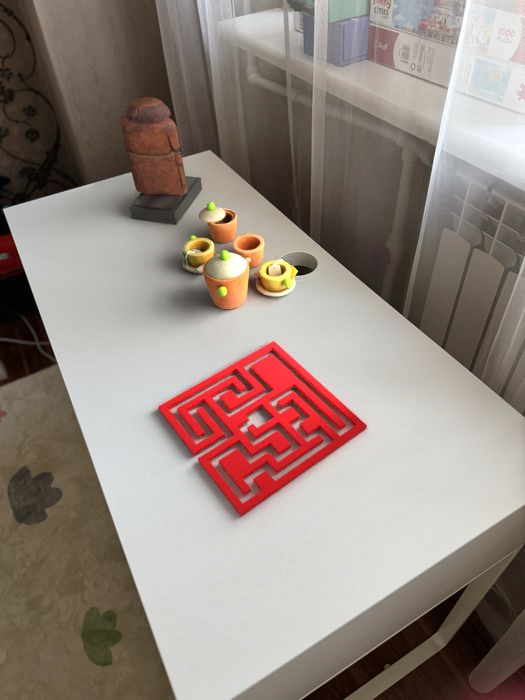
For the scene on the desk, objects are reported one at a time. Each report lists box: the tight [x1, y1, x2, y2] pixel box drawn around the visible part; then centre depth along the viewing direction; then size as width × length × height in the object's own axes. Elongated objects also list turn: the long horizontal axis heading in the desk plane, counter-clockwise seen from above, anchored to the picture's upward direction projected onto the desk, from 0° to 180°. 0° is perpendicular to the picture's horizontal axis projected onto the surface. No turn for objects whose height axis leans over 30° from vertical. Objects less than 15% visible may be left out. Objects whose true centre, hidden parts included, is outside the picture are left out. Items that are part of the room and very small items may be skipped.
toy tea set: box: [181, 201, 299, 310], centre depth 92 cm, size 26×16×10 cm, turn 31°
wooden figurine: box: [120, 96, 187, 195], centre depth 103 cm, size 12×6×18 cm, turn 81°
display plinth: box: [128, 175, 203, 226], centre depth 110 cm, size 10×14×3 cm
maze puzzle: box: [157, 340, 368, 517], centre depth 72 cm, size 20×20×1 cm
